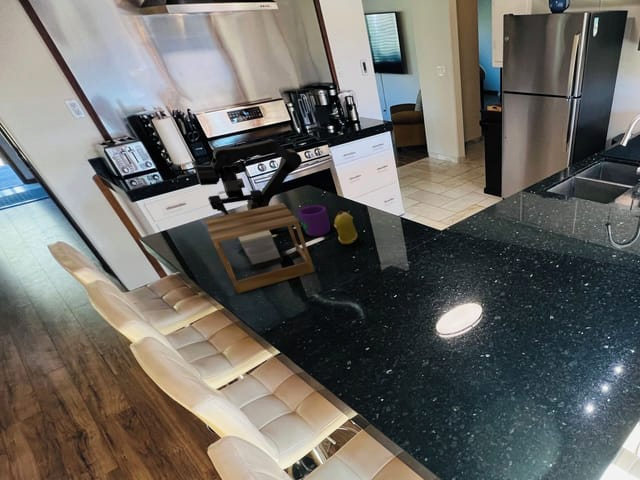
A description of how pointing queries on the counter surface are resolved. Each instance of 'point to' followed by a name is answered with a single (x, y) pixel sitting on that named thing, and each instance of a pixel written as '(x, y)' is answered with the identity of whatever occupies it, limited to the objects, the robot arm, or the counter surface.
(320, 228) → the mug
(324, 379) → the counter surface
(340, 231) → the yellow rounded lump
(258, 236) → the grey lidded shoebox
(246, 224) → the shoe rack
